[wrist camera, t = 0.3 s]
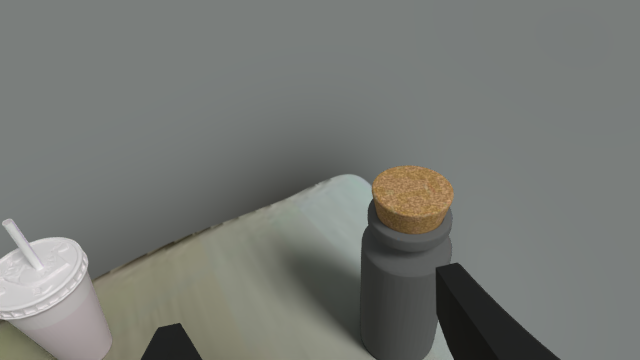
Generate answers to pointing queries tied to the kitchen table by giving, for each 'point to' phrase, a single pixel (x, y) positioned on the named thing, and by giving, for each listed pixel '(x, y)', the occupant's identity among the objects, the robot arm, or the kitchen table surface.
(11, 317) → the smoothie
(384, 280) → the bottle
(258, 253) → the kitchen table surface
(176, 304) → the kitchen table surface
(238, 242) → the kitchen table surface
